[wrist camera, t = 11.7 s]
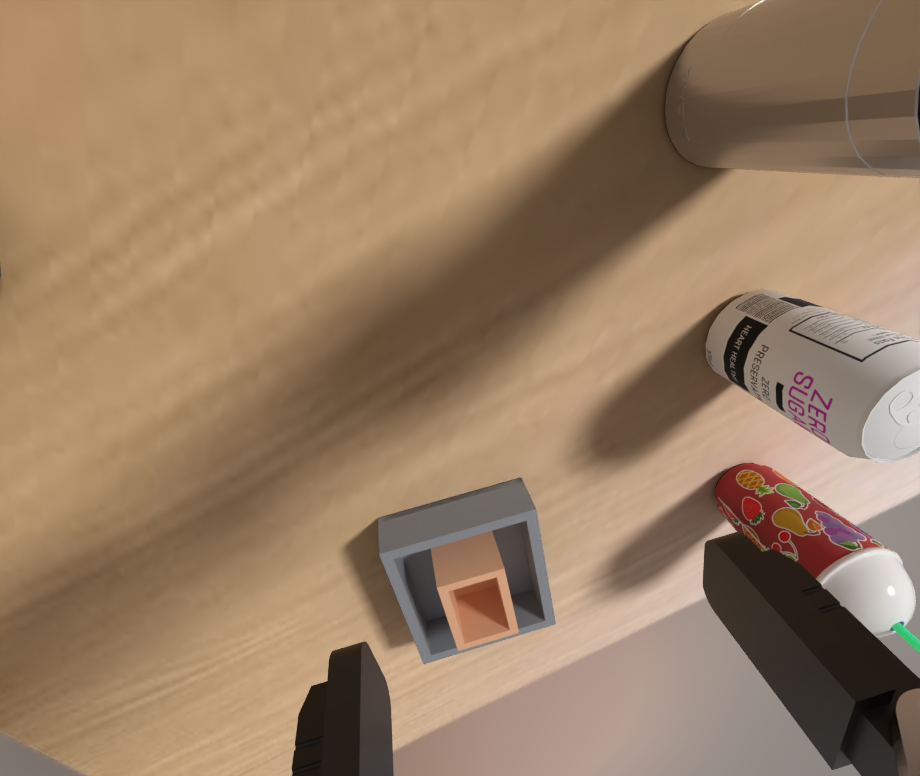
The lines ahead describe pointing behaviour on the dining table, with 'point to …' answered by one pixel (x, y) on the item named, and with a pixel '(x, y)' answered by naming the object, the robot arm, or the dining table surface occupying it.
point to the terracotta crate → (474, 590)
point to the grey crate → (450, 521)
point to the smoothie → (821, 546)
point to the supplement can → (823, 372)
